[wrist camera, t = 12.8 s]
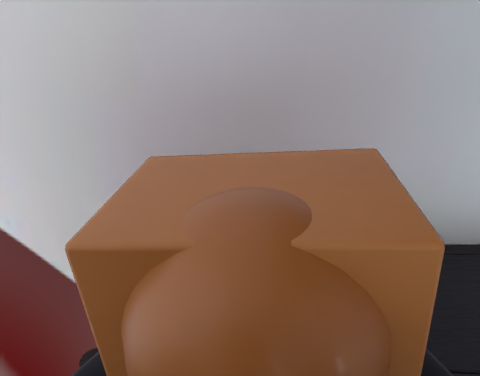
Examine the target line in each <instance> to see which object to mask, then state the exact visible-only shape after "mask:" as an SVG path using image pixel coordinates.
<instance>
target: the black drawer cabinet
mask: <svg viewBox="0 0 480 376" xmlns="http://www.w3.org/2000/svg"><path fill="white" fill-rule="evenodd" d="M426 349H427V350H428V351H429V352H430V353H431V354H432V355H433V356H434V357H435V358H436V359H437V360H438V361H439V362H440V363H441V364H442V365H443V366H444V367H445V368H446V369H447V370H448V371H449V372H450V373H451V374H452V375H453V376H480V245H445V250H444V256H443V261H442V266H441V272H440V277H439V282H438V287H437V293H436V298H435V303H434V309H433V314H432V319H431V324H430V330H429V335H428V340H427V346H426Z"/></svg>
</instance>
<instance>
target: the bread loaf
mask: <svg viewBox="0 0 480 376" xmlns="http://www.w3.org/2000/svg"><path fill="white" fill-rule="evenodd" d="M444 250H445V245H444V242H443V240H442V239H441V238H440V236H439V235H438V234H437V232H436V231H435V229H434V228H433V227H432V225H431V224H430V222H429V221H428V220H427V218H426V217H425V215H424V214H423V213H422V211H421V210H420V209H419V207H418V206H417V204H416V203H415V202H414V200H413V199H412V197H411V196H410V195H409V193H408V192H407V190H406V189H405V188H404V186H403V185H402V183H401V182H400V181H399V179H398V178H397V177H396V175H395V174H394V172H393V171H392V170H391V168H390V167H389V165H388V164H387V163H386V161H385V160H384V158H383V157H382V156H381V154H380V153H379V152H378V150H377V149H374V148H371V149H345V150H318V151H291V152H265V153H238V154H211V155H185V156H158V157H150V158H148V159H147V160H146V161H145V162H144V164H143V165H142V166H141V167H140V168H139V169H138V170H137V171H136V172H135V173H134V174H133V175H132V176H131V177H130V178H129V179H128V180H127V181H126V182H125V183H124V184H123V185H122V186H121V188H120V189H119V190H118V191H117V192H116V193H115V194H114V195H113V196H112V197H111V198H110V199H109V200H108V201H107V202H106V203H105V204H104V205H103V206H102V207H101V208H100V209H99V210H98V211H97V213H96V214H95V215H94V216H93V217H92V218H91V219H90V220H89V221H88V222H87V223H86V224H85V225H84V226H83V227H82V228H81V229H80V230H79V231H78V232H77V233H76V234H75V235H74V236H73V238H72V239H71V240H70V241H69V242H68V243H67V244H66V248H65V251H66V254H67V257H68V260H69V263H70V266H71V269H72V272H73V275H74V278H75V281H76V284H77V287H78V290H79V293H80V296H81V299H82V302H83V305H84V308H85V311H86V314H87V317H88V320H89V323H90V327H91V330H92V333H93V335H94V339H95V342H96V344H97V348H98V351H99V354H100V357H101V360H102V363H103V366H104V369H105V372H106V375H107V376H421V372H422V367H423V362H424V356H425V351H426V346H427V340H428V335H429V330H430V324H431V319H432V314H433V309H434V303H435V298H436V293H437V287H438V282H439V277H440V272H441V266H442V261H443V256H444Z"/></svg>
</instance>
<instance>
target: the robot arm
mask: <svg viewBox="0 0 480 376" xmlns="http://www.w3.org/2000/svg"><path fill="white" fill-rule="evenodd" d="M71 376H107V375H106V372H105V369H104V366H103V363H102V360H101V357H100V354H99V352H97V353H96V354H95V355H94V356H93V357H92V358H91V359H89V360H88V361H87V362H86V363H85V364H84V365H83V366H82V367H80V368H79V369H78V370H77V371H76V372H75V373H74V374H72V375H71ZM421 376H453V375H452V374H451V373H450V372H449V371H448V370H447V369H446V368H445V367H444V366H443V365H442V364H441V363H440V362H439V361H438V360H437V359H436V358H435V357H434V356H433V355H432V354H431V353H430V352H429V351H428V350H427V349H426V351H425V356H424V362H423V367H422V372H421Z"/></svg>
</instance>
